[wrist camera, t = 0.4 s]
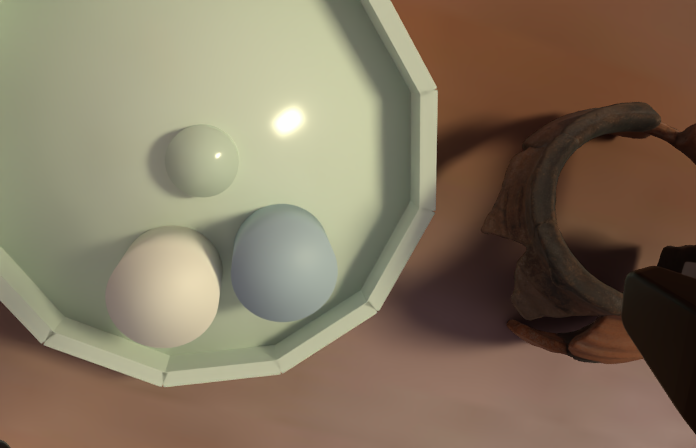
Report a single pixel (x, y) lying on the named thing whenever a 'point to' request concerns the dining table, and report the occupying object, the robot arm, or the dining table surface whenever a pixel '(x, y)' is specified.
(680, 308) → the robot arm
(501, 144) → the dining table surface
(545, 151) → the brown hollow cylinder
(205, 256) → the cream round bead
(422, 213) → the green tray
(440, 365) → the dining table surface
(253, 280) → the blue-grey rounded piece
